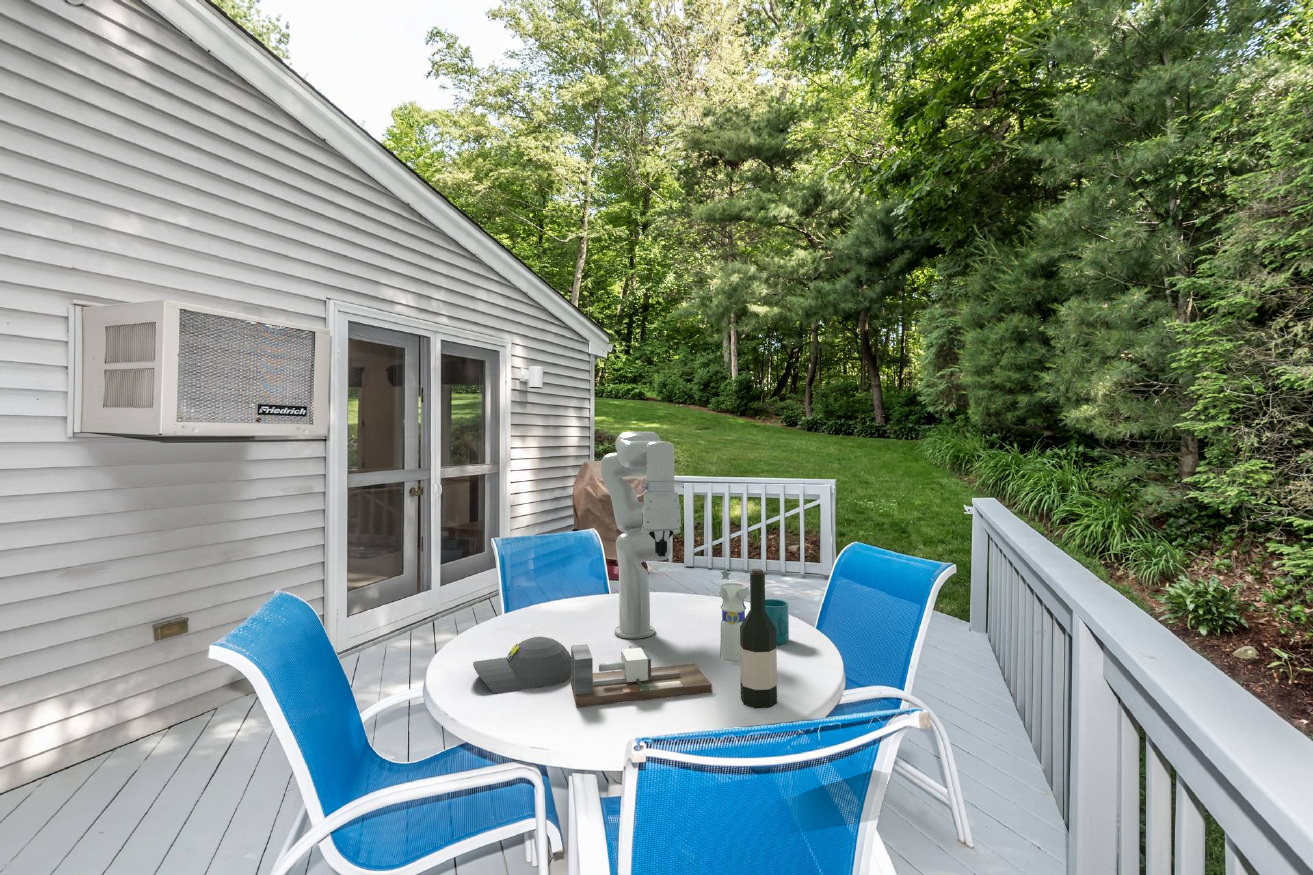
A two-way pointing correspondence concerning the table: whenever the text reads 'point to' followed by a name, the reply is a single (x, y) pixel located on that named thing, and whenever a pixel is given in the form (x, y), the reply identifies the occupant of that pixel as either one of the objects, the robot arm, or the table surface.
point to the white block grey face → (631, 665)
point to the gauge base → (618, 690)
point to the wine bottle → (758, 650)
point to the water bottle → (732, 617)
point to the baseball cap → (527, 666)
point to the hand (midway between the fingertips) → (661, 555)
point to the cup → (779, 618)
